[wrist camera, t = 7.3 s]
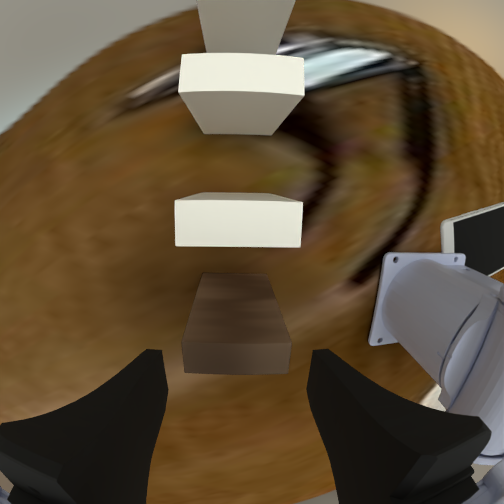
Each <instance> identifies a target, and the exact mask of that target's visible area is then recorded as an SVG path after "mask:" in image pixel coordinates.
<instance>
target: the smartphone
mask: <svg viewBox="0 0 504 504" xmlns="http://www.w3.org/2000/svg"><path fill="white" fill-rule="evenodd" d="M440 232H441V253H462V254H464V255H465V257H466V259H465V265H464V266H466V267H469V268H471V269H473V270H475V271H478V272H480V273H482V274H484V275H486V276H488V277H489V276H491V275H493V274H495V273H497V272H498V271H500V270H502V269H504V202H502V203H499V204H495V205H492V206H489V207H486V208H482V209H478V210H477V211H476V210H475V211H472V212H468V213H465V214H462V215H460V216H456V217H453V218H450V219H446V220H444V221H442V223H441V226H440ZM454 260H455V258H454Z"/></svg>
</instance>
